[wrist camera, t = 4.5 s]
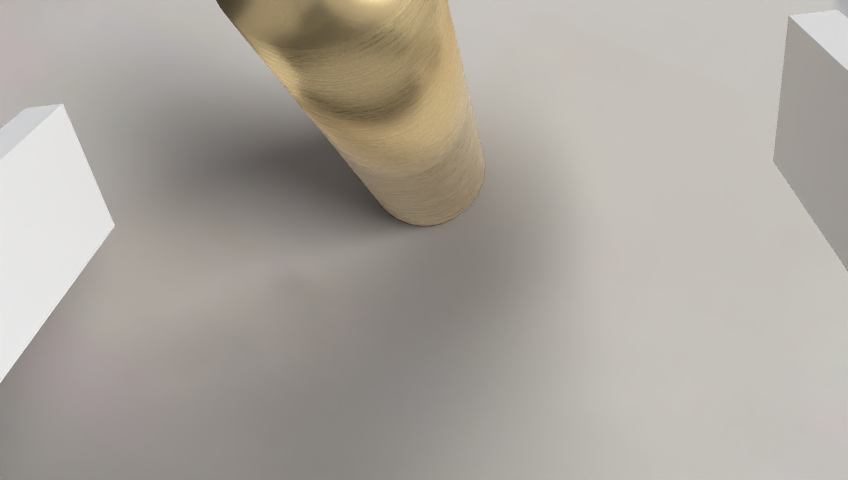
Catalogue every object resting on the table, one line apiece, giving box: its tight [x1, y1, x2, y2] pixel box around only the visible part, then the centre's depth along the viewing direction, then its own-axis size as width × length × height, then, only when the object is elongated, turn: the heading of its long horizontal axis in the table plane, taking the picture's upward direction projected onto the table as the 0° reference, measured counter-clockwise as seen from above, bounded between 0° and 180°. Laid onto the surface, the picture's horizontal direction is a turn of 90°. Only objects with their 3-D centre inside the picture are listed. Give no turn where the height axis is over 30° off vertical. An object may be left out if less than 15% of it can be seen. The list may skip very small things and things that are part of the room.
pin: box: [216, 0, 485, 226], centre depth 16 cm, size 3×3×11 cm
